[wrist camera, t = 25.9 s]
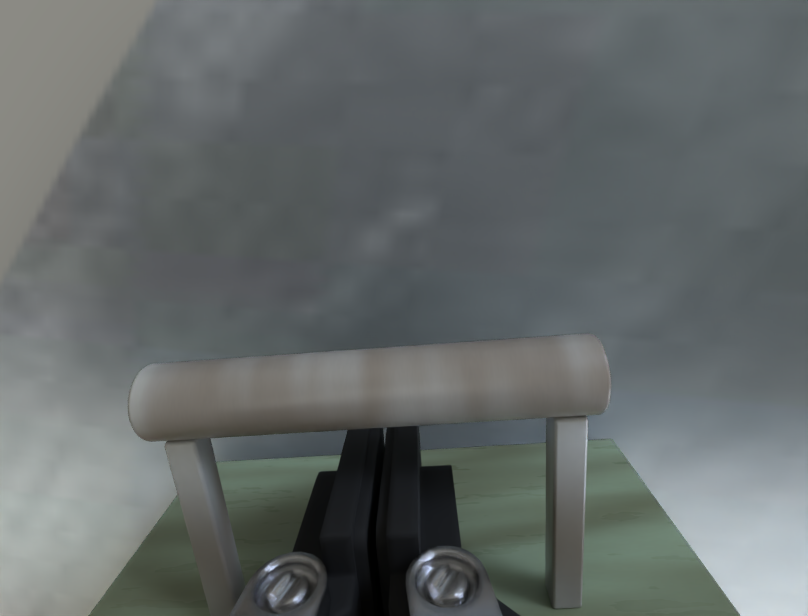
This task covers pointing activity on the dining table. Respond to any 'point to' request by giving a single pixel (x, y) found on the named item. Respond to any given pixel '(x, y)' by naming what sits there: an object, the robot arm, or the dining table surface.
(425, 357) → the drawer
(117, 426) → the dining table surface
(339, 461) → the robot arm
